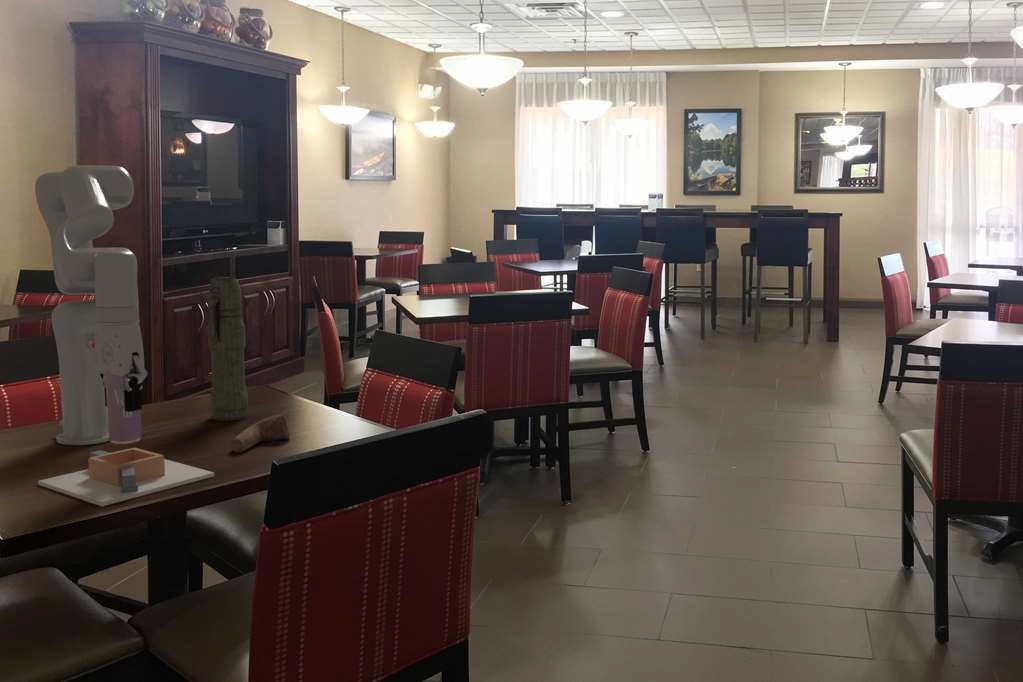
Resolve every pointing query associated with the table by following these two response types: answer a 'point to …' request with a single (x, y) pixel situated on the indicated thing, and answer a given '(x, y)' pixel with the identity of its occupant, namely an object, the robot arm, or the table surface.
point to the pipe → (262, 433)
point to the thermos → (227, 350)
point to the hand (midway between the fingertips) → (123, 407)
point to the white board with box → (124, 476)
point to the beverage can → (121, 413)
